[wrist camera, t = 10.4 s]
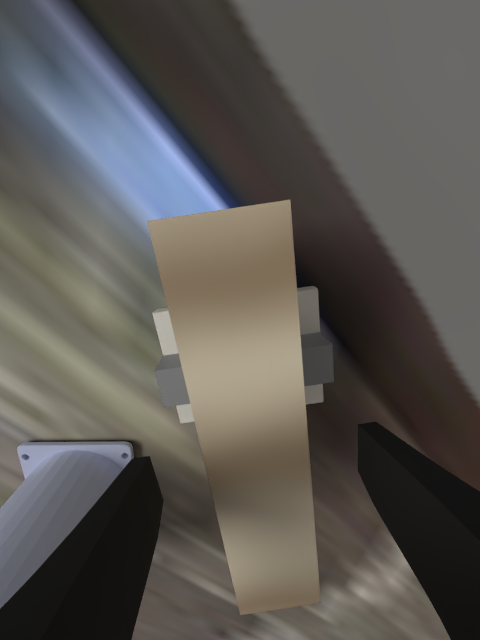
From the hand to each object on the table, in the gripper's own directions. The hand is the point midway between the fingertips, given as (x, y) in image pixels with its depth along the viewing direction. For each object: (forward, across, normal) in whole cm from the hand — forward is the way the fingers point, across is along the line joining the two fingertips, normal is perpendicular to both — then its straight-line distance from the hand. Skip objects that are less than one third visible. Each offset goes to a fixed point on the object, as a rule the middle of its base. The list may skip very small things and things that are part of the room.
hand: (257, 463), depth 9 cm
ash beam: (+6, 0, 0) cm, 6 cm away
